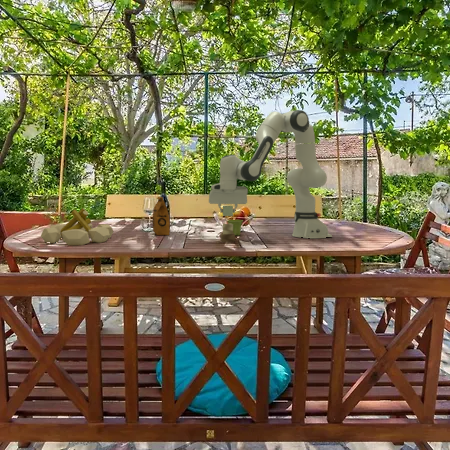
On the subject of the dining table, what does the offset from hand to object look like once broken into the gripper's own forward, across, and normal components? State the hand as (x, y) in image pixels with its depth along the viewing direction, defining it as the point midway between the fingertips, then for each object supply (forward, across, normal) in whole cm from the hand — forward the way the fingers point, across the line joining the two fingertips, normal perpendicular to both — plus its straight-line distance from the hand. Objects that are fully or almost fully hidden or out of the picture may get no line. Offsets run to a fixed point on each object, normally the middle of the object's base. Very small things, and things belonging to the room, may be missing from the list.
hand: (227, 212), depth 215 cm
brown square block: (+15, 0, 0) cm, 15 cm away
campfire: (+16, +79, -5) cm, 80 cm away
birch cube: (+11, 0, 0) cm, 11 cm away
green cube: (+2, 0, 0) cm, 2 cm away
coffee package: (+16, +37, -26) cm, 48 cm away
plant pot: (+15, -6, -22) cm, 28 cm away
